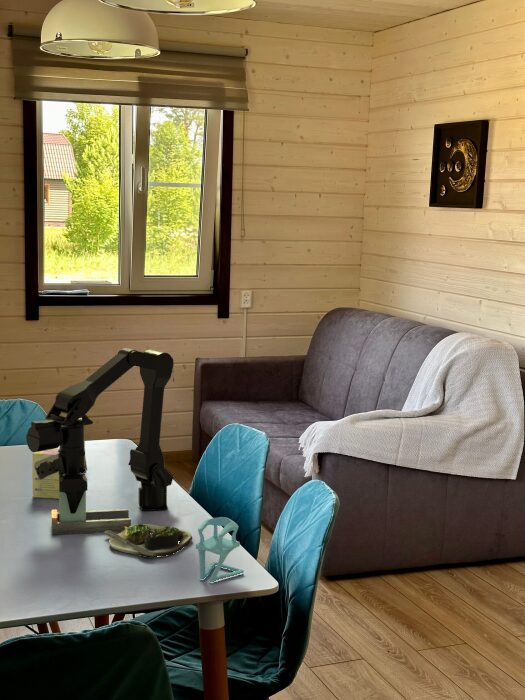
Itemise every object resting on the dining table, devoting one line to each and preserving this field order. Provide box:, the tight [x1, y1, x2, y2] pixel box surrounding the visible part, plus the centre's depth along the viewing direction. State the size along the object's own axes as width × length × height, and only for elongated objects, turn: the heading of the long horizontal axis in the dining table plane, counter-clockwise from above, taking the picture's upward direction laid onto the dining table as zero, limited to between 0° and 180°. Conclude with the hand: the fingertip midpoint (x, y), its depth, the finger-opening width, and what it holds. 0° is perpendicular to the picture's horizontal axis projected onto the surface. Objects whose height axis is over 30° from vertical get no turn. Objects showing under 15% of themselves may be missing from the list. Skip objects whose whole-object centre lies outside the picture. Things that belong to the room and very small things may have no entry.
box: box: [31, 448, 59, 500], centre depth 237 cm, size 10×6×12 cm, turn 84°
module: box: [58, 491, 87, 522], centre depth 214 cm, size 6×4×8 cm
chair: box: [195, 516, 245, 582], centre depth 188 cm, size 8×8×12 cm
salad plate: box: [103, 522, 193, 558], centre depth 206 cm, size 19×18×5 cm
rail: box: [51, 508, 132, 536], centre depth 216 cm, size 18×9×4 cm, turn 103°
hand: (72, 510), depth 215 cm, fingers closed on module, 4 cm apart
